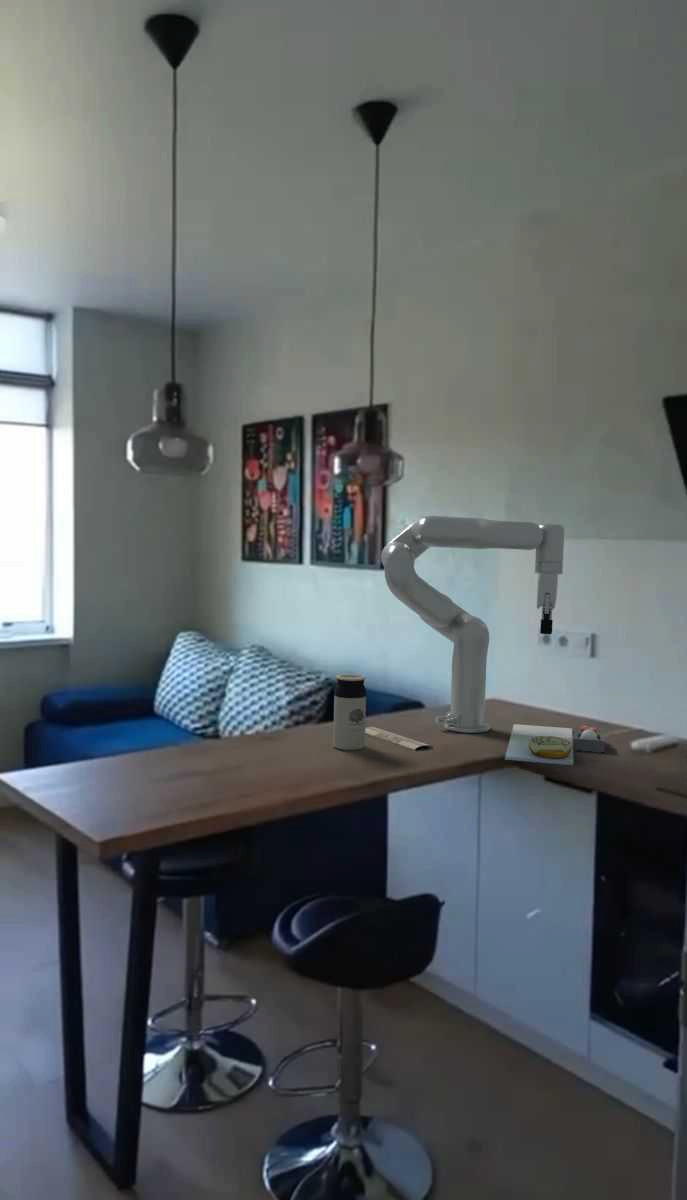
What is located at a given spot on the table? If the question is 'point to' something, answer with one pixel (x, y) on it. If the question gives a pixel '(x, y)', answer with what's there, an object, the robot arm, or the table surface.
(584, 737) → the dome button
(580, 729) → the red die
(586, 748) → the dome collar
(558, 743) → the decorated donut
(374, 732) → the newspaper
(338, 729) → the travel mug
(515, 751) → the white flat board
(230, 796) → the table surface
